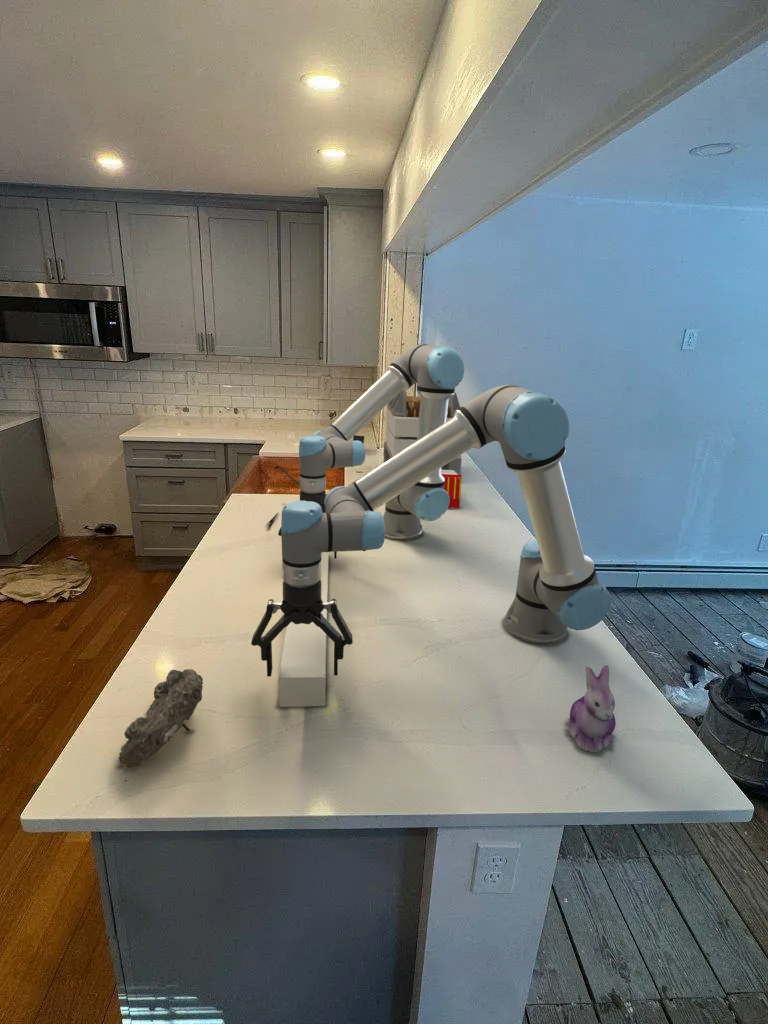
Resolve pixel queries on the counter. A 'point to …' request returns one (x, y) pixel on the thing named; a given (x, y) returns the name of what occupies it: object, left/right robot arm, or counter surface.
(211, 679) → the counter surface
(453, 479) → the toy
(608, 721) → the figurine
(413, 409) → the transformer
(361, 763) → the counter surface
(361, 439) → the figurine character
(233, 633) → the counter surface
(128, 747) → the fossil
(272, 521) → the feather
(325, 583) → the wide beam
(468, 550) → the counter surface
